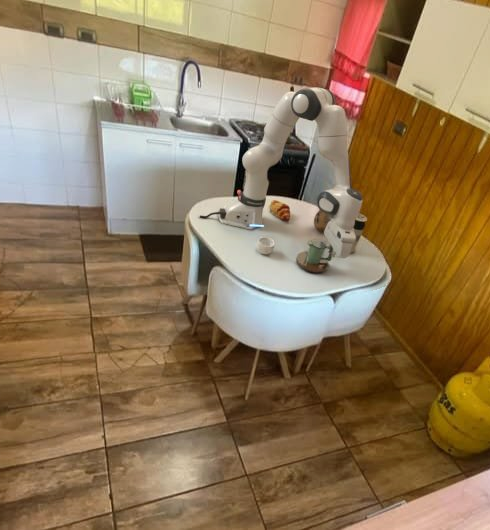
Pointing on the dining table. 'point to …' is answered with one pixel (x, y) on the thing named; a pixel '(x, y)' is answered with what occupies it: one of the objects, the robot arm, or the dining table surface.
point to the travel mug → (358, 229)
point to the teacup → (265, 245)
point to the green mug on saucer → (314, 257)
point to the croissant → (280, 210)
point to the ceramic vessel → (321, 220)
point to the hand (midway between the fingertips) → (330, 254)
